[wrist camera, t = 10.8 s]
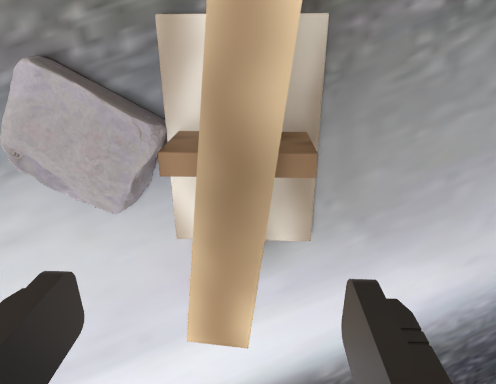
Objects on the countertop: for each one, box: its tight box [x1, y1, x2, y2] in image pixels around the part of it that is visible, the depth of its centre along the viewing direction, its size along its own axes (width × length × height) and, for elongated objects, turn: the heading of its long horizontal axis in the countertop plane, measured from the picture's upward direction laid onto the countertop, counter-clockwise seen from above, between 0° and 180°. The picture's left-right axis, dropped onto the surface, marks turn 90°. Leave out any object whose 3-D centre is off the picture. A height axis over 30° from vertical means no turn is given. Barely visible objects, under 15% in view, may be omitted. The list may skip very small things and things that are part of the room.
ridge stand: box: [155, 13, 329, 241], centre depth 25 cm, size 12×18×8 cm, turn 0°
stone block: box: [0, 56, 167, 214], centre depth 28 cm, size 12×5×10 cm
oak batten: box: [187, 0, 302, 348], centre depth 20 cm, size 4×22×4 cm, turn 173°
